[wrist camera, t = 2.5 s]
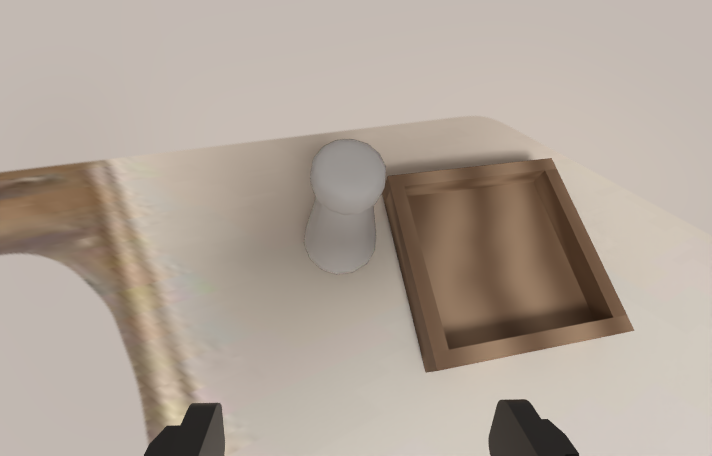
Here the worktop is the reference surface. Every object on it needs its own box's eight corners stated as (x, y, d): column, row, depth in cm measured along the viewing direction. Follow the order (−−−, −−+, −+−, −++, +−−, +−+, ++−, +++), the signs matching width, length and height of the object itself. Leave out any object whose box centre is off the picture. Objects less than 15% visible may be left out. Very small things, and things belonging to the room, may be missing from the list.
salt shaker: (379, 231, 32) (414, 138, 20) (361, 290, 29) (389, 225, 18) (318, 211, 32) (316, 109, 20) (295, 268, 30) (278, 190, 18)
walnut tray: (534, 175, 36) (551, 158, 33) (605, 335, 30) (634, 330, 27) (382, 193, 33) (387, 175, 31) (425, 372, 27) (437, 370, 25)
